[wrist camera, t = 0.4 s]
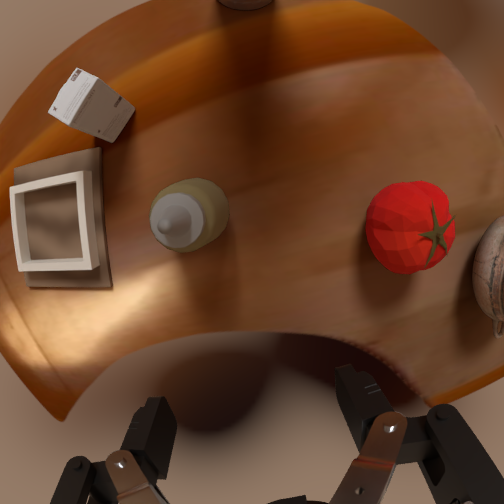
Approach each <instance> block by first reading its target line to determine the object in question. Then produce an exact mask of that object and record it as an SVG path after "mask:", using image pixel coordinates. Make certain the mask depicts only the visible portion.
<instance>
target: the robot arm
mask: <svg viewBox="0 0 504 504" xmlns="http://www.w3.org/2000/svg"><path fill="white" fill-rule="evenodd" d="M218 1H219V2H220V3H222V4H223V5H225V6H227V7H229V8H232V9H237V10H253V9H258V8H261V7H264V6H265V5H267V4H269V3H270V2H271V1H272V0H218ZM335 384H336V396H337V400H338V403H339V406H340V408H341V411H342V413H343V415H344V418H345V420H346V422H347V425H348V427H349V430H350V432H351V434H352V437H353V439H354V441H355V444H356V446H357V448H358V451H359V453H360V454H359V456H358V457H357V459H354V460H353V461H352V463H351V465H350V467H349V469H348V471H347V473H346V474H345V476H344V478H343V480H342V482H341V484H340V485H339V487H338V489H337V491H336V492H335V494H334V496H333V498H332V499H331V501H330V502H329V503H326V502H321V501H307V500H306V495H302V496H297V497H292V498H286V499H280V500H277V501H274V502H271V503H268V504H381V502H382V500H383V497H384V495H385V493H386V490H387V488H388V485H389V483H390V480H391V478H392V475H393V473H394V470H395V468H396V465H398V464H405V463H412V462H418V465H419V467H420V469H421V471H422V473H423V475H424V478H425V479H426V482H427V484H428V486H429V489H430V491H431V493H432V495H433V498H434V500H435V502H436V504H504V478H503V477H502V475H501V473H500V472H499V470H498V469H497V467H496V466H495V464H494V462H493V461H492V460H491V458H490V456H489V455H488V453H487V452H486V450H485V449H484V447H483V446H482V444H481V443H480V441H479V440H478V439H477V437H476V436H475V434H474V433H473V431H472V430H471V429H470V427H469V426H468V424H467V423H466V421H465V420H464V419H463V417H462V416H461V415H460V413H459V412H458V410H457V409H456V408H455V407H454V406H452V405H449V404H439V405H436V406H434V407H433V408H431V409H430V410H429V412H428V414H427V415H426V416H420V417H412V418H408V417H405V416H404V415H402V414H401V413H398V412H395V411H394V410H393V408H392V407H391V405H390V404H389V402H388V400H387V399H386V397H385V396H384V394H383V392H382V391H381V390H380V388H379V386H378V385H377V383H376V381H375V380H374V379H373V377H372V376H371V375H369V374H368V373H366V372H365V371H362V372H359V373H356V372H355V370H354V368H353V366H352V365H351V364H348V365H345V366H341V367H338V368H335ZM176 431H177V421H176V418H175V416H174V414H173V412H172V410H171V408H170V406H169V404H168V402H167V400H166V398H165V397H164V396H159V397H149V398H148V399H147V402H146V404H145V406H144V407H140V409H138V410H137V412H136V413H135V414H134V416H133V418H132V421H131V423H130V426H129V429H128V431H127V433H126V435H125V438H124V441H123V443H122V446H121V448H120V450H117V451H114V452H112V453H111V454H110V455H109V456H108V457H107V459H106V461H101V462H94V463H91V462H90V461H89V460H88V459H87V458H86V457H84V456H76V457H73V458H72V459H70V460H69V461H68V462H67V464H66V466H65V468H64V471H63V473H62V475H61V478H60V480H59V483H58V485H57V488H56V490H55V493H54V495H53V497H52V500H51V502H50V504H86V502H87V498H88V495H90V497H89V500H88V503H87V504H118V503H119V504H170V503H169V501H168V500H167V499H166V497H165V496H164V495H163V493H162V492H161V490H160V489H159V487H158V486H157V485H156V483H157V479H165V480H166V477H167V473H168V467H169V463H170V458H171V454H172V449H173V445H174V440H175V436H176Z"/></svg>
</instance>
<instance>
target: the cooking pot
mask: <svg viewBox="0 0 504 504" xmlns="http://www.w3.org/2000/svg"><path fill="white" fill-rule="evenodd" d="M472 279H473V289H474V294H475V297H476V300H477V303H478V304H479V306H480V308H481V310H482V311H483V312H484V313H485V314H486V315H487V316H488V317H490V318H492V319H493V333H494V336H495V338H500V337H501V336H502V335H503V333H504V215H503V216H502V217H500V218H498V219H496V220H495V221H494V222H493V223H492V224H491V225H490V226H489V227H488V229H487V230H486V231H485V233H484V235H483V236H482V238H481V241H480V243H479V245H478V248H477V251H476V254H475V258H474V264H473V275H472ZM499 321H502V325H501V330H500V332H499V333H498V331H497V325H498V322H499Z"/></svg>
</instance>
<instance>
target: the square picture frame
mask: <svg viewBox="0 0 504 504" xmlns="http://www.w3.org/2000/svg"><path fill="white" fill-rule="evenodd" d="M75 182H76V186H77V205H78V218H79V228H80V237H81V246H82V253H83V258H67V259H46V260H31V258H30V251H29V244H28V236H27V227H26V217H25V204H24V193H26V192H30V191H35V190H40V189H44V188H49V187H54V186H59V185H64V184H70V183H75ZM10 204H11V218H12V228H13V237H14V245H15V252H16V258H17V264H18V269H19V271H61V270H92V269H94V268H96V267H97V266H99V265H100V264H99V257H98V249H97V241H96V232H95V221H94V209H93V193H92V171H78V172H73V173H68V174H63V175H58V176H54V177H49V178H45V179H40V180H36V181H32V182H28V183H24V184H20V185H16V186H13V187H10Z"/></svg>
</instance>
